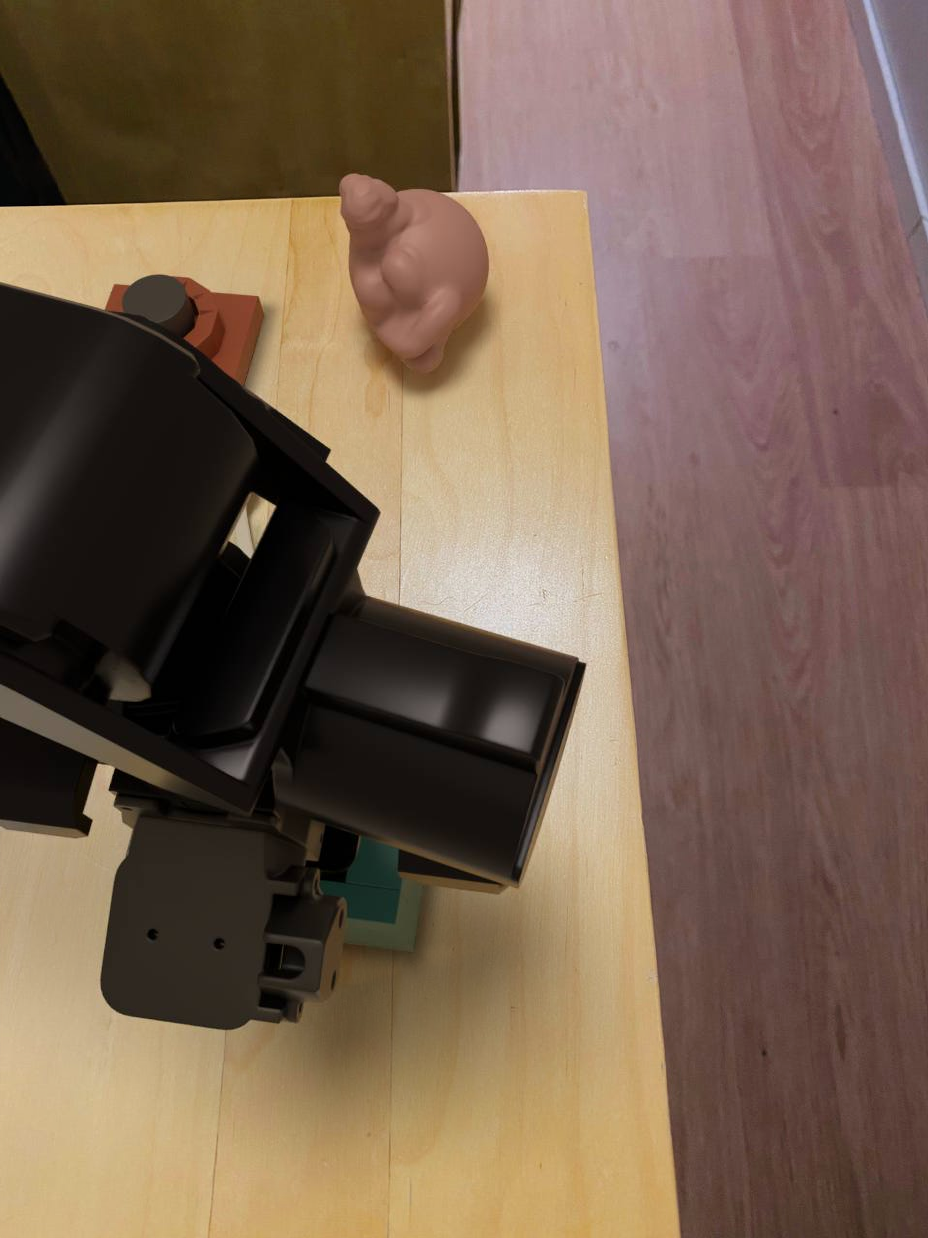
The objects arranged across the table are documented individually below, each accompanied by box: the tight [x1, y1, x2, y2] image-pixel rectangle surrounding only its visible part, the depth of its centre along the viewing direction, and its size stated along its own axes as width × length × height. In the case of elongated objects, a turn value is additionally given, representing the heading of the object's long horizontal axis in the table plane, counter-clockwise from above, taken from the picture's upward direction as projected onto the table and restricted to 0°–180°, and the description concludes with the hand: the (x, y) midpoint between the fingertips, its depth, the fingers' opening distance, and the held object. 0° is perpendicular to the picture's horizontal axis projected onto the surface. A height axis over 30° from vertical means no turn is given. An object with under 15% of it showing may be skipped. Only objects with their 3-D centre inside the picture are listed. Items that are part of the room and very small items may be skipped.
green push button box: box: [319, 836, 424, 953], centre depth 47 cm, size 9×7×10 cm
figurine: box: [338, 173, 490, 374], centre depth 61 cm, size 9×11×12 cm
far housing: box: [104, 275, 265, 387], centre depth 65 cm, size 10×8×4 cm
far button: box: [122, 273, 195, 338], centre depth 62 cm, size 4×4×2 cm
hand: (303, 824), depth 42 cm, fingers closed, pressing on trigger
